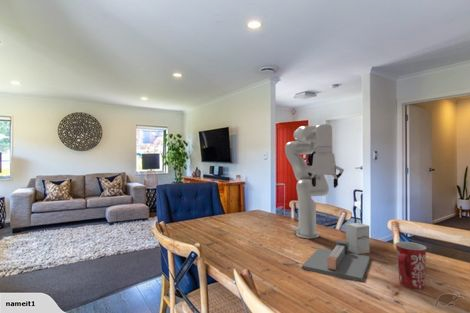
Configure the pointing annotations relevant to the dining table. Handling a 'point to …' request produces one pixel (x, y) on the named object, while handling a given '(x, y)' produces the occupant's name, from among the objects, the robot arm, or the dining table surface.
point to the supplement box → (358, 238)
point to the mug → (411, 264)
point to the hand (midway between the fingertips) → (324, 186)
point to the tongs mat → (348, 268)
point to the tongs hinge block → (344, 243)
